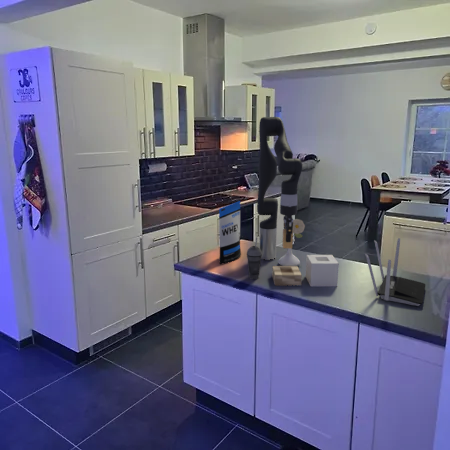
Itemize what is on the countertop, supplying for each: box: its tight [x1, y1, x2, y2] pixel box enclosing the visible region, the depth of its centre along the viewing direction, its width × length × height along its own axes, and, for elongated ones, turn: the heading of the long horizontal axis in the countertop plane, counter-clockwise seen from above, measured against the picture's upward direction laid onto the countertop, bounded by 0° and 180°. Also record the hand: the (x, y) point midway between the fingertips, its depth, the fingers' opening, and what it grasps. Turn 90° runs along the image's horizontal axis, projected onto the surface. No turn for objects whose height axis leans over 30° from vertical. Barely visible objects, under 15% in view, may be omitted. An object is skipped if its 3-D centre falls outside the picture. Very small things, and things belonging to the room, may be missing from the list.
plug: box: [282, 226, 294, 249], centre depth 180 cm, size 4×4×10 cm
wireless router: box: [364, 237, 426, 307], centre depth 169 cm, size 34×23×20 cm
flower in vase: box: [277, 218, 306, 267], centre depth 202 cm, size 13×11×25 cm
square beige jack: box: [271, 265, 303, 287], centre depth 184 cm, size 12×12×5 cm
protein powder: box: [218, 200, 242, 265], centre depth 214 cm, size 10×24×30 cm, turn 152°
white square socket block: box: [305, 254, 340, 287], centre depth 182 cm, size 12×12×11 cm
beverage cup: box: [246, 237, 262, 280], centre depth 187 cm, size 7×7×20 cm
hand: (287, 240), depth 180 cm, fingers closed on plug, 4 cm apart
